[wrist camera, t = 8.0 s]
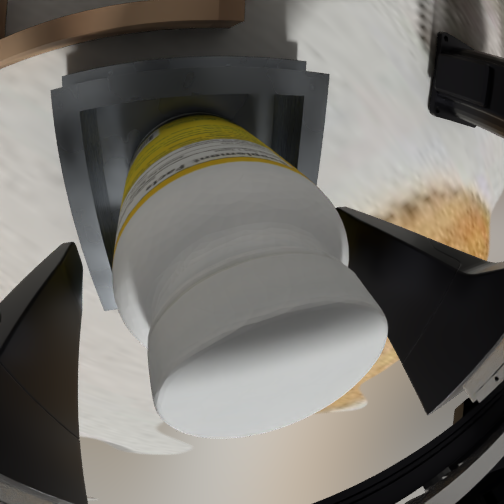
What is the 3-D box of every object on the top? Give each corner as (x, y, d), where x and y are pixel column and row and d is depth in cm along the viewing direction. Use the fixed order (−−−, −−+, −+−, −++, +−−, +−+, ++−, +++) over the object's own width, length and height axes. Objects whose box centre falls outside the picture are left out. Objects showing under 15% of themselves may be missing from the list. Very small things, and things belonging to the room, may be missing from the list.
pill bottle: (251, 224, 16) (357, 410, 8) (135, 235, 14) (149, 461, 6) (263, 110, 13) (467, 241, 4) (126, 113, 11) (42, 294, 2)
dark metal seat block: (297, 60, 12) (341, 64, 9) (280, 243, 19) (308, 284, 16) (68, 75, 10) (37, 80, 7) (103, 269, 16) (98, 318, 13)
